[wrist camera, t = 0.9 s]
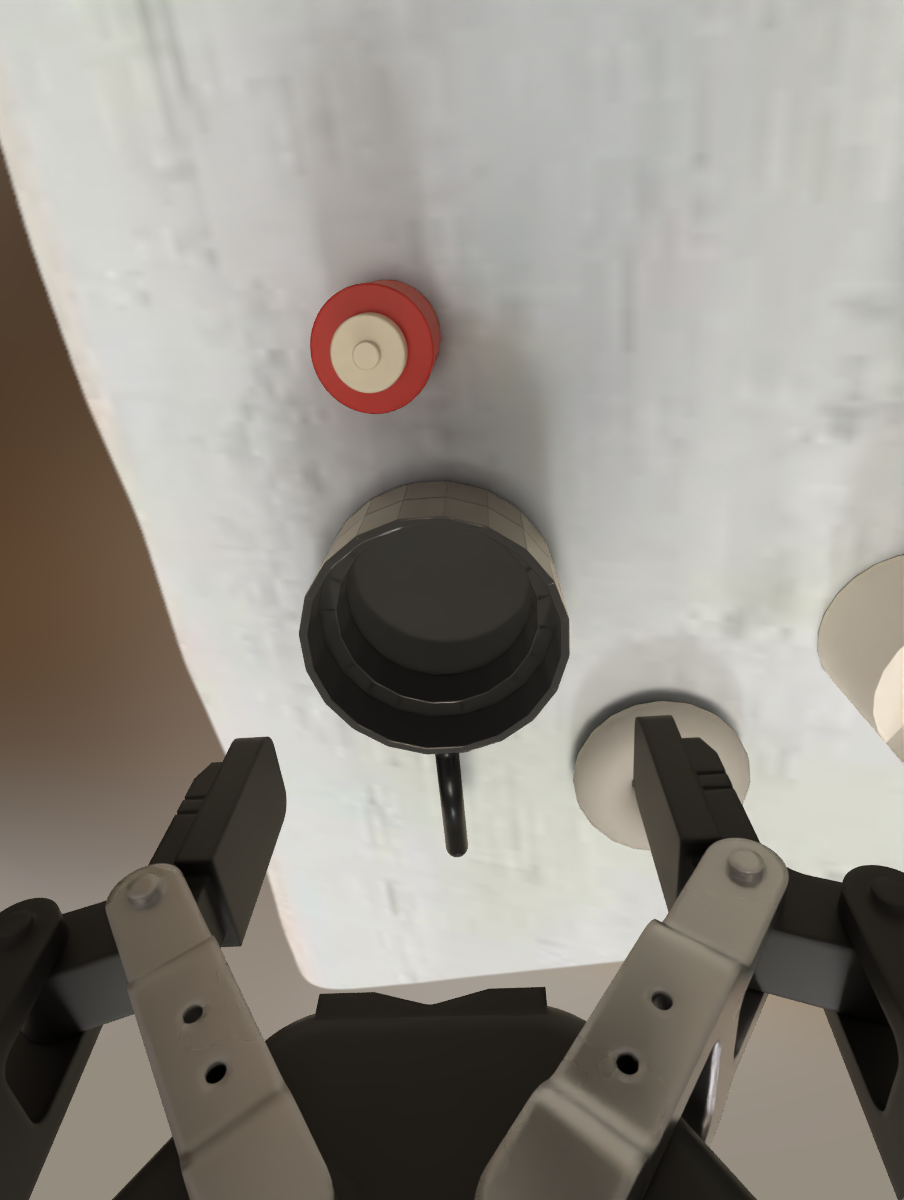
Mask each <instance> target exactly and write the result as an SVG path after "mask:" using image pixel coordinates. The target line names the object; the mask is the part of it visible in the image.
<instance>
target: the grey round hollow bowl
mask: <svg viewBox="0 0 904 1200" xmlns="http://www.w3.org/2000/svg"><path fill="white" fill-rule="evenodd" d="M299 638H300V643H301V648H302V653H303V658H304V663H305V668H306V671H307V673H308V675H309V676H310V678H311V680H312V682H313V683H314V685H315V687H316V688H317V690H318V692H319V694H320V695H321V697H322V699H323V700H324V702H325V703H326V704H327V705H328V706H329V707H330V708H331V709H332V710H333V711H334V712H335V713H336V714H338V715H339V716H340V717H341V718H342V719H343V720H344V721H345V722H346V723H347V724H348V725H350V726H351V727H352V728H354V729H355V730H357V731H358V732H360V733H362V734H364V735H366V736H368V737H370V738H372V739H374V740H376V741H378V742H380V743H382V744H384V745H386V746H389V747H394V748H399V749H403V750H408V751H413V752H418V753H422V754H444V753H464V752H468V751H472V750H475V749H478V748H481V747H484V746H487V745H490V744H494V743H497V742H500V741H502V740H504V739H506V738H507V737H509V736H510V735H512V734H513V733H515V732H516V731H518V730H519V729H521V728H522V727H524V726H525V725H527V724H528V723H530V722H531V721H533V719H535V717H536V716H537V715H538V714H539V713H540V711H541V710H542V709H543V708H544V706H545V705H546V704H547V703H548V701H549V700H550V699H551V698H552V696H553V695H554V694H555V693H556V691H557V689H558V687H559V684H560V681H561V678H562V675H563V673H564V670H565V667H566V664H567V661H568V659H569V617H568V613H567V609H566V605H565V601H564V597H563V594H562V590H561V586H560V582H559V578H558V574H557V570H556V568H555V565H554V563H553V560H552V557H551V555H550V552H549V550H548V547H547V544H546V542H545V539H544V538H543V536H542V535H541V534H540V533H539V532H538V530H537V529H536V528H535V527H534V526H533V525H532V523H531V522H530V521H529V520H528V519H527V517H526V516H525V515H524V514H523V513H522V512H521V511H520V510H519V509H518V508H516V507H514V506H513V505H511V504H509V503H508V502H506V501H504V500H503V499H501V498H499V497H498V496H496V495H494V494H493V493H491V492H489V491H486V489H482V488H478V487H473V486H469V485H465V484H461V483H457V482H452V481H436V482H423V483H410V484H406V485H404V486H401V487H399V488H396V489H394V490H391V491H389V492H387V493H384V494H382V495H379V496H377V497H374V498H373V499H371V500H370V501H369V502H368V503H366V504H365V505H364V506H363V507H362V508H361V509H360V510H358V511H357V512H356V513H355V514H354V515H353V516H351V517H350V518H349V519H348V520H347V521H346V522H345V523H344V525H343V526H342V528H341V530H340V532H339V533H338V535H337V537H336V539H335V540H334V542H333V544H332V546H331V547H330V549H329V551H328V553H327V555H326V557H325V559H324V561H323V563H322V564H321V566H320V568H319V570H318V572H317V574H316V576H315V578H314V580H313V582H312V584H311V586H310V588H309V590H308V591H307V593H306V595H305V598H304V604H303V611H302V617H301V623H300V630H299Z"/></svg>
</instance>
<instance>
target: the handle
mask: <svg viewBox="0 0 904 1200" xmlns="http://www.w3.org/2000/svg"><path fill="white" fill-rule="evenodd" d="M435 756H436V764H437V773H438V782H439V790H440V799H441V808H442V816H443V825H444V833H445V842H446V849H447V851H448V853H449V854H450V855H451V856H453V857H461V856H463V855H464V854H465V853H466V851H467V849H468V841H467V831H466V821H465V811H464V800H463V790H462V780H461V770H460V760H459V753H444V754H435Z"/></svg>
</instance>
